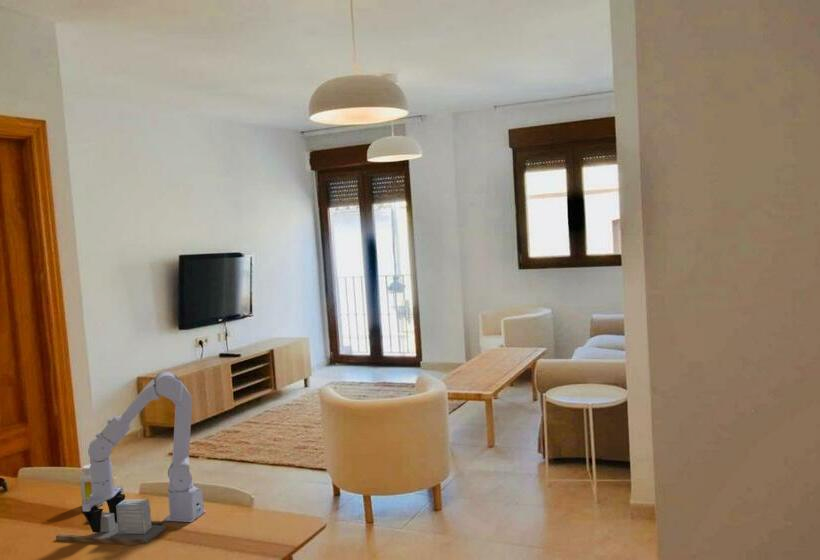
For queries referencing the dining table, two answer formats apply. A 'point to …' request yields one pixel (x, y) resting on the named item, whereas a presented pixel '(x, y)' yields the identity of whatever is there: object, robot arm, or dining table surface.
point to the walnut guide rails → (102, 539)
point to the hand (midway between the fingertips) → (105, 526)
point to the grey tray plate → (111, 531)
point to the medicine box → (133, 516)
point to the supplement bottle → (86, 484)
